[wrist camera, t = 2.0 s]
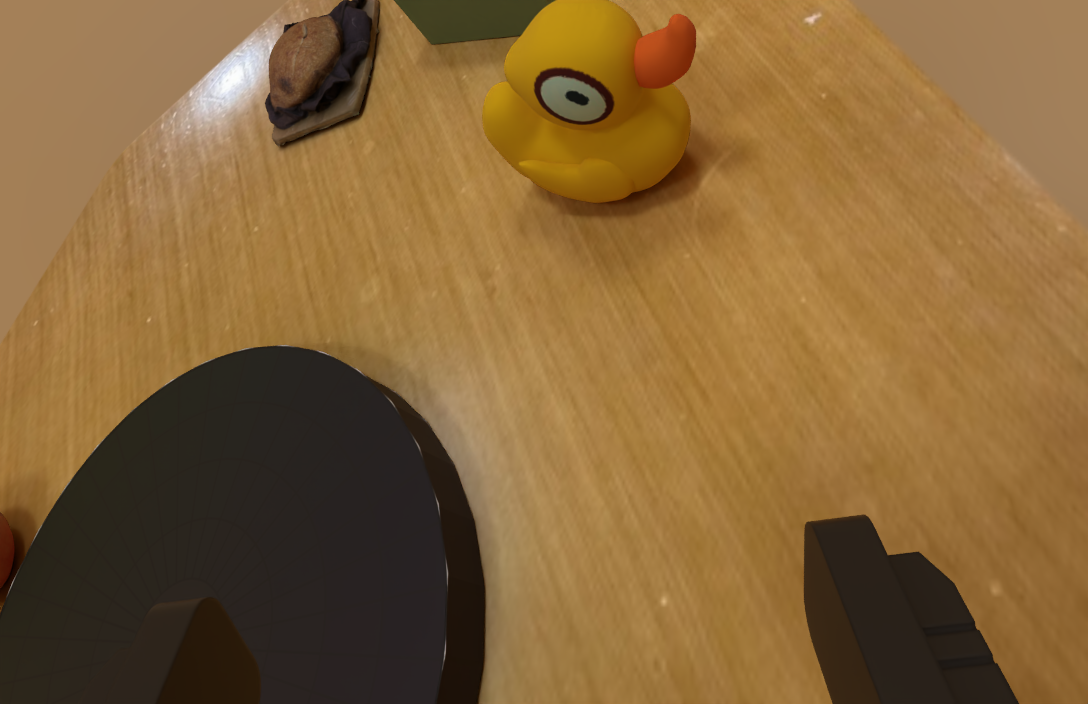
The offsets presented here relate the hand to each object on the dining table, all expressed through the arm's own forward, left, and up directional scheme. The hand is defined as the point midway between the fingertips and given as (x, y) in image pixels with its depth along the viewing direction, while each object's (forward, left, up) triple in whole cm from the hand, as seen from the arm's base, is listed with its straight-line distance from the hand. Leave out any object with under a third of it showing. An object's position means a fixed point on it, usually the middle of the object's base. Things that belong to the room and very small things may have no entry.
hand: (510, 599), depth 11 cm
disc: (+27, +8, -20) cm, 34 cm away
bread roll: (+39, -27, -20) cm, 51 cm away
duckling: (+13, -20, -20) cm, 31 cm away
